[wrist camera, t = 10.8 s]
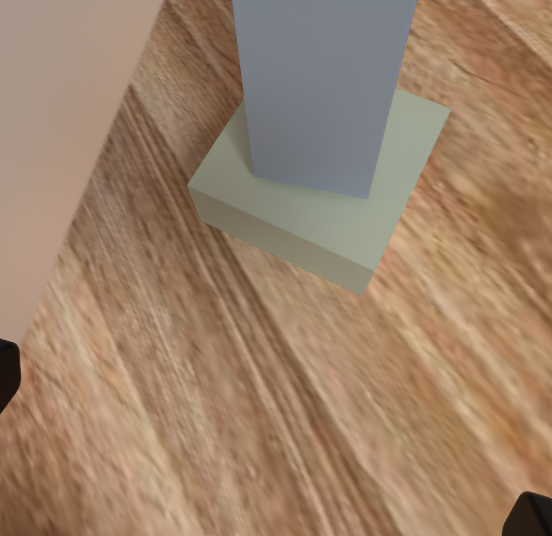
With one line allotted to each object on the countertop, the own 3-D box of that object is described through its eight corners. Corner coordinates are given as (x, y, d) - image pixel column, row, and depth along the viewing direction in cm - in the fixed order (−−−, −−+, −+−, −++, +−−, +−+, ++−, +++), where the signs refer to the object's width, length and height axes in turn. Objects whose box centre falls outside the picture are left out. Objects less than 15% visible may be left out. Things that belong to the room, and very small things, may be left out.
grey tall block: (367, 199, 21) (456, -159, 9) (253, 176, 21) (208, -182, 10) (386, 110, 23) (478, -273, 11) (282, 92, 23) (271, -286, 12)
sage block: (361, 299, 24) (374, 271, 20) (201, 224, 26) (186, 185, 22) (428, 157, 27) (451, 109, 23) (280, 97, 28) (279, 43, 24)
